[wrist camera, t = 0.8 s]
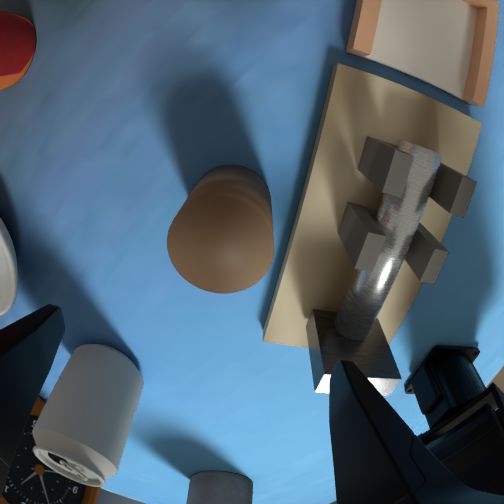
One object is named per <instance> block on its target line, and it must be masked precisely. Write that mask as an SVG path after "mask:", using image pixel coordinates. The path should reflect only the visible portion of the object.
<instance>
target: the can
mask: <svg viewBox="0 0 504 504" xmlns="http://www.w3.org/2000/svg"><path fill="white" fill-rule="evenodd" d="M143 385H144V381H143V378H142V375H141V373H140V372H139V371H138V369H137V368H136V366H135V365H134V363H133V362H132V361H131V360H130V359H129V358H128V357H127V356H126V355H125V354H123V353H121V352H120V351H118V350H117V349H114V348H112V347H109V346H107V345H101V344H86V345H81V346H79V347H77V348H76V349H75V350H74V352H73V354H72V355H71V357H70V359H69V361H68V362H67V364H66V366H65V368H64V370H63V372H62V373H61V375H60V377H59V379H58V381H57V383H56V385H55V386H54V388H53V390H52V392H51V394H50V396H49V398H48V400H47V402H46V404H45V406H44V408H43V410H42V412H41V414H40V416H39V418H38V420H37V422H36V424H35V426H34V428H33V431H32V434H33V437H34V440H35V443H36V445H37V446H34V448H33V452H34V454H35V455H36V456H37V458H38V459H39V460H40V461H42V462H43V463H44V464H45V465H47V466H48V467H50V468H51V469H53V470H54V471H56V472H58V473H59V474H61V475H63V476H65V477H67V478H69V479H72V480H74V481H76V482H79V483H82V484H85V485H89V486H94V487H102V486H104V485H105V484H106V483H105V479H106V478H109V477H111V476H113V475H115V474H117V471H118V468H119V464H120V461H121V457H122V454H123V450H124V447H125V444H126V440H127V437H128V434H129V430H130V427H131V424H132V421H133V417H134V414H135V411H136V408H137V405H138V402H139V399H140V396H141V393H142V389H143Z"/></svg>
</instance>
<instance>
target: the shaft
mask: <svg viewBox="0 0 504 504" xmlns="http://www.w3.org/2000/svg"><path fill="white" fill-rule="evenodd" d="M398 149H400V150H402V151H404V152H406V153H408V154H410V155H412V156H414V159H413V162H412V166H411V169H410V172H409V175H408V178H407V181H406V184H405V187H404V190H403V193H402V196H401V198H400V197H397V196H393V195H390V194H387V193H384V195H383V198H382V201H381V204H380V207H379V210H378V213H377V216H376V219H375V222H376V223H377V224H378V226H379V227H380V228H381V230H382V231H383V232H384V234H385V235H386V236H387V237H386V240H385V242H384V245H383V247H382V250H381V252H380V255H379V257H378V260H377V262H376V265H375V267H374V269H373V272H369V271H364V270H359V269H356V272H355V274H354V277H353V279H352V281H351V284H350V286H349V289H348V291H347V293H346V296H345V298H344V301H343V303H342V305H341V308H340V310H339V312H332V311H325V310H318V309H312V311H311V314H310V316H309V319H308V321H307V324H306V332H307V339H308V346H309V353H310V360H311V367H312V375H313V382H314V390H315V392H319V393H329V381H330V377H331V374H332V372H333V371H334V369H335V367H336V365H337V363H338V361H339V360H342V359H343V360H351V361H353V362H354V363H355V364H356V365H357V366H358V368H359V369H360V370H361V371H362V372H363V374H364V375H365V376H366V377H367V378H368V379H369V381H370V382H371V383H372V384H373V385H374V386H375V388H376V389H377V390H378V391H379V392H380V393H381V395H382V396H390V394H391V393H392V392H393V390H394V389H395V388H396V386H397V385H398V384H399V382H400V381H401V380H402V378H401V376H400V373H399V370H398V368H397V365H396V362H395V360H394V357H393V355H392V352H391V349H390V347H389V344H388V342H387V339H386V337H385V334H384V332H383V329H382V327H381V325H380V322H379V320H378V318H377V316H378V314H379V312H380V310H381V308H382V306H383V304H384V302H385V300H386V298H387V296H388V294H389V292H390V289H391V287H392V285H393V283H394V281H395V279H396V277H397V274H398V272H399V270H400V268H401V265H402V263H403V261H404V259H405V256H406V254H407V252H408V249H409V247H410V244H411V242H412V240H413V237H414V235H415V232H416V230H417V227H418V225H419V222H420V219H421V217H422V214H423V212H424V209H425V206H426V204H427V201H428V198H429V195H430V192H431V190H432V187H433V184H434V181H435V178H436V175H437V172H438V169H439V166H440V162H441V159H442V156H443V155H441V154H439V153H436V152H434V151H432V150H429V149H427V148H425V147H422V146H420V145H417V144H414V143H412V142H409V141H406V140H403V139H401V140H400V144H399V147H398Z"/></svg>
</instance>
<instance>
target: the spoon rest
mask: <svg viewBox="0 0 504 504" xmlns="http://www.w3.org/2000/svg"><path fill="white" fill-rule="evenodd" d="M17 290H18V267H17V259H16V253H15V249H14V245H13V242H12V240H11V237H10V235H9V232H8V230H7V228H6V226H5V224H4V223H3V221H2V219H1V218H0V315H3V314H5V313H6V312H7V311H9V310H10V308H11V307H12V305H13V304H14V301H15V299H16V296H17Z"/></svg>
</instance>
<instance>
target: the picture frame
mask: <svg viewBox="0 0 504 504" xmlns="http://www.w3.org/2000/svg"><path fill="white" fill-rule="evenodd" d="M498 14H499V3H498V2H496V1H495V0H357V1H356V6H355V10H354V15H353V20H352V25H351V29H350V34H349V39H348V43H347V48H346V52H348V53H351V54H354V55H357V56H360V57H363V58H366V59H369V60H372V61H374V62H377V63H380V64H383V65H385V66H388V67H390V68H393V69H396V70H398V71H401V72H403V73H405V74H408V75H410V76H413V77H415V78H417V79H419V80H422V81H424V82H426V83H428V84H430V85H433V86H435V87H437V88H439V89H441V90H443V91H445V92H447V93H449V94H451V95H453V96H455V97H457V98H459V99H461V100H463V101H465V102H466V103H468V104H470V105H475V106H480V107H484V105H485V100H486V96H487V91H488V86H489V81H490V75H491V70H492V64H493V58H494V51H495V43H496V35H497V26H498Z"/></svg>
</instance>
